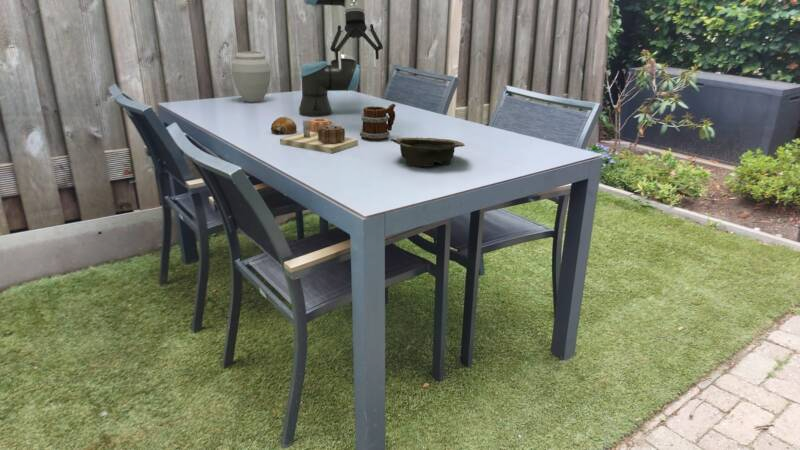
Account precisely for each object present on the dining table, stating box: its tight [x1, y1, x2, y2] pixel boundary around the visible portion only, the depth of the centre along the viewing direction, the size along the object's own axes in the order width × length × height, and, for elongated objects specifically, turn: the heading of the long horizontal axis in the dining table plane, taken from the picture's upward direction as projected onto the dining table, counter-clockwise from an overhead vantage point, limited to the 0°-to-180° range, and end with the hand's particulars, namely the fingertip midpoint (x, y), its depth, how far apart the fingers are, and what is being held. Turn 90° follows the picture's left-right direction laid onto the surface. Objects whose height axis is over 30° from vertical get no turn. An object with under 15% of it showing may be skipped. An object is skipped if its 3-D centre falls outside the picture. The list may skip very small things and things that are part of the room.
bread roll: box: [270, 116, 298, 136], centre depth 227 cm, size 10×10×8 cm
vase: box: [230, 50, 272, 103], centre depth 287 cm, size 20×20×24 cm
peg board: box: [279, 120, 359, 155], centre depth 209 cm, size 24×16×8 cm, turn 60°
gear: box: [308, 117, 333, 133], centre depth 228 cm, size 10×10×5 cm
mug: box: [359, 103, 396, 142], centre depth 220 cm, size 12×14×15 cm
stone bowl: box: [390, 136, 466, 168], centre depth 191 cm, size 25×25×9 cm
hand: (357, 68), depth 219 cm, fingers open, 13 cm apart
